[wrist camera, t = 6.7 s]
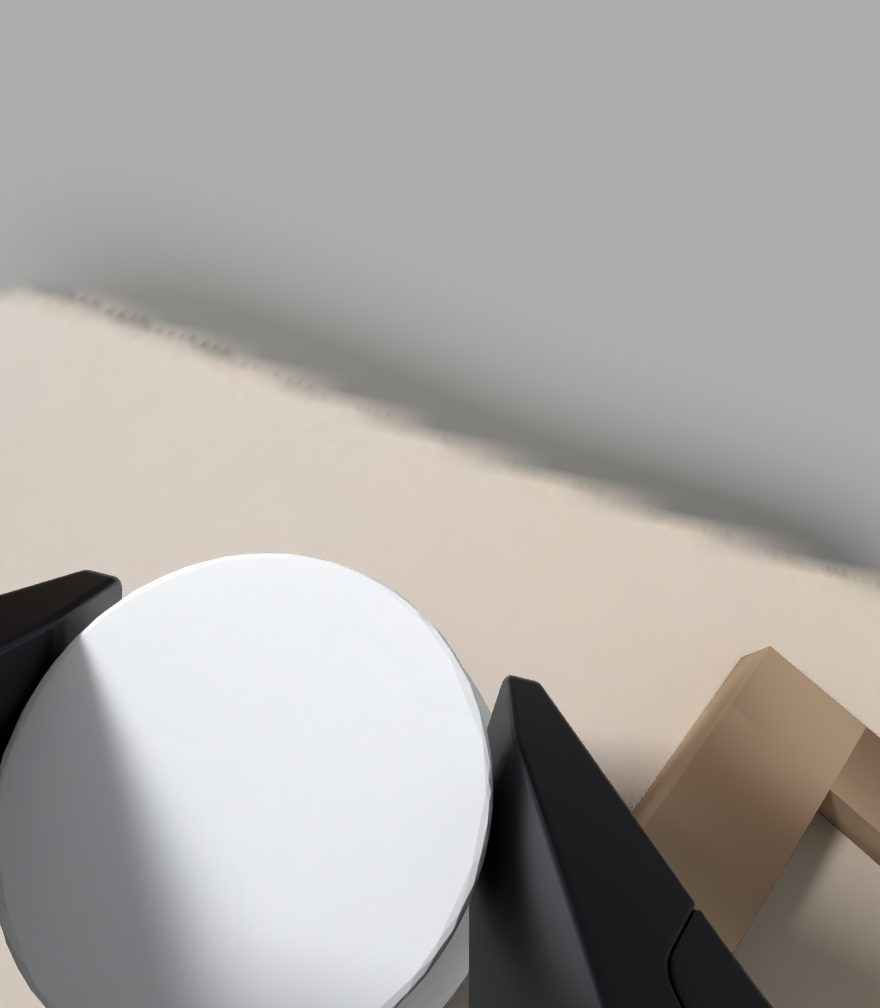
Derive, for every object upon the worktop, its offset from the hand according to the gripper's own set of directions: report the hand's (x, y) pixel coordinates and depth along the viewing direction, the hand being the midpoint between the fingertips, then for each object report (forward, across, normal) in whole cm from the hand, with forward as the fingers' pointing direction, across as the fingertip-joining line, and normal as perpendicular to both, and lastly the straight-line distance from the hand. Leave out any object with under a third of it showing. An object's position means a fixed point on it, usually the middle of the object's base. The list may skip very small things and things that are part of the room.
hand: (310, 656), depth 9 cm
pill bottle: (+5, 0, +9) cm, 10 cm away
